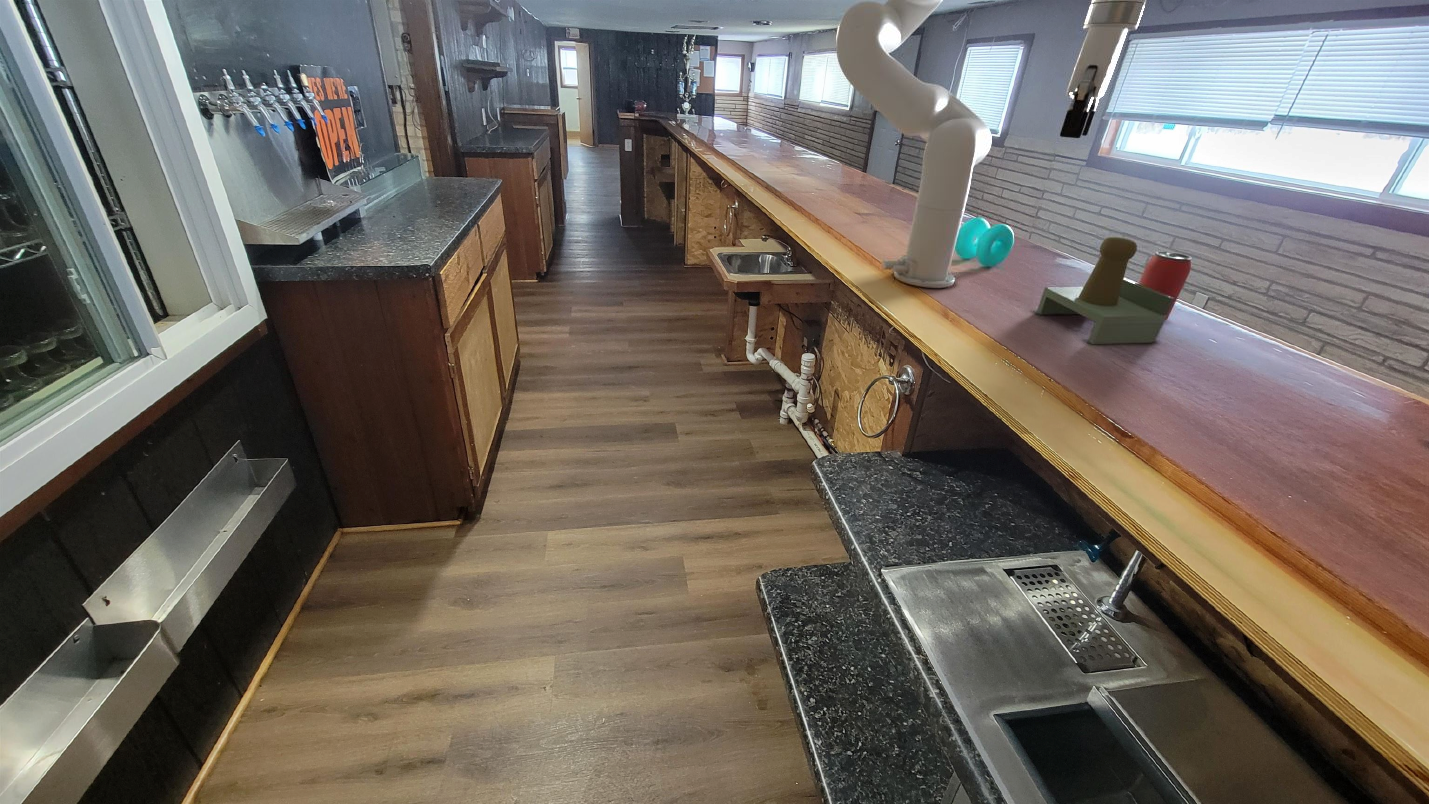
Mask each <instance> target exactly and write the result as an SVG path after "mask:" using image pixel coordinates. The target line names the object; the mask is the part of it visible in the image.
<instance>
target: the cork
mask: <svg viewBox="0 0 1429 804" xmlns="http://www.w3.org/2000/svg"><path fill="white" fill-rule="evenodd" d="M1137 250H1138V243H1137V241H1136V240H1134V239H1131V238H1128V237H1126V236H1108V237H1106V238H1105V239H1104V240H1103V241H1102V242H1101V245H1100V247H1099V253H1100V257H1099V259H1098V260H1097V262H1096V264H1095V266H1094V268H1093V269H1092V271H1091V273H1090V275H1089V277H1088V279H1087V281H1086V282H1085V283H1084V286H1083V287H1084V288H1083V289H1082V291H1081V293H1080V295H1079V299H1081V300H1082V301H1085V302H1087V303H1091V304H1095V305H1100V306H1116V305H1117V303H1118V299H1119V295H1120V291H1121V287H1122V283H1123V279H1124V278H1125V276H1126V275H1125V274H1126V271H1127V268H1128V262H1129V260H1131V259H1132V258H1133V257H1134V256H1135V255H1136V254H1137V253H1136V252H1137Z"/></svg>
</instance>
